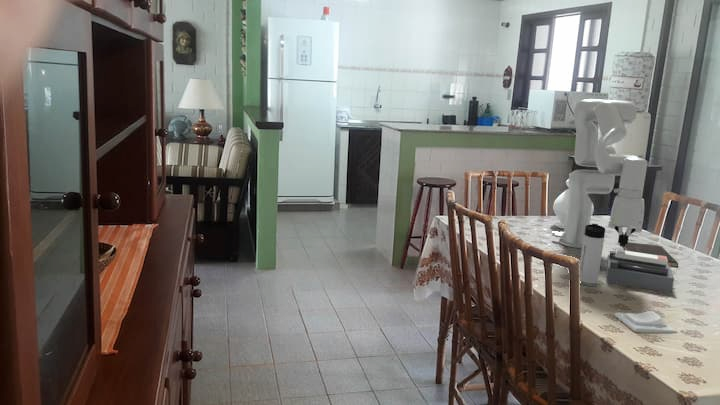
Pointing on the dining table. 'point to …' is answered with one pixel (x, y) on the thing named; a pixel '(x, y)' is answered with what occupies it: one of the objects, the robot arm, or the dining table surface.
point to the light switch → (645, 322)
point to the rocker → (641, 257)
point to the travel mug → (591, 254)
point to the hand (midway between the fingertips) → (622, 245)
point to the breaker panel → (639, 273)
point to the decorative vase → (563, 207)
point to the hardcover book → (650, 251)
